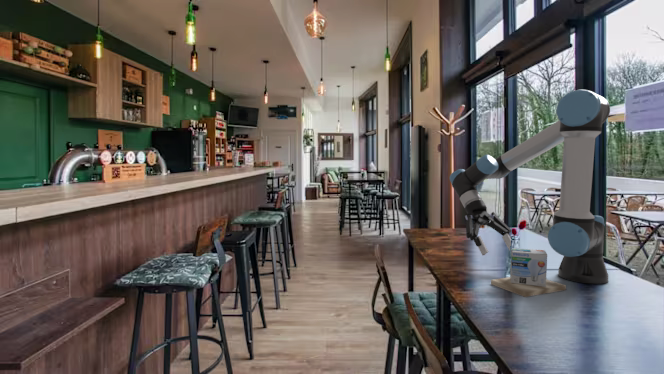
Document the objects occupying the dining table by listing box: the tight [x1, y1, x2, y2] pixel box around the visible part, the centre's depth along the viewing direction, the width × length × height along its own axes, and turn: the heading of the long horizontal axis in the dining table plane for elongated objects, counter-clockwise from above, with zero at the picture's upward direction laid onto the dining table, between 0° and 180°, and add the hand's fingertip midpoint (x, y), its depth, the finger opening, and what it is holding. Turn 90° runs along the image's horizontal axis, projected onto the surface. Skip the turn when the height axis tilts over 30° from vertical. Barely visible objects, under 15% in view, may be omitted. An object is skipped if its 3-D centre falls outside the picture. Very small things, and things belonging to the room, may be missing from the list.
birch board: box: [490, 276, 567, 298], centre depth 130 cm, size 18×14×2 cm
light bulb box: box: [509, 247, 548, 287], centre depth 129 cm, size 11×7×11 cm, turn 68°
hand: (499, 252), depth 141 cm, fingers open, 13 cm apart
